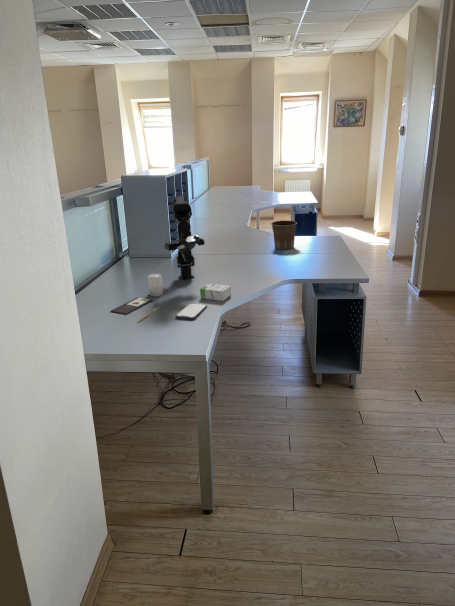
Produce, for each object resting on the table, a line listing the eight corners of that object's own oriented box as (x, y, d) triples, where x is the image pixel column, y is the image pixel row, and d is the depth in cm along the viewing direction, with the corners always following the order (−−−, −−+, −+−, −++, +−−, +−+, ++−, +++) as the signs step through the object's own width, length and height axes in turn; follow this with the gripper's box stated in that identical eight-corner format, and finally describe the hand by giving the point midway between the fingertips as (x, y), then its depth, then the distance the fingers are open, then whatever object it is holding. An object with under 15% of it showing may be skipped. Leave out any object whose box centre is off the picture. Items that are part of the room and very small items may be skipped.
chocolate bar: (110, 310, 194) (137, 297, 208) (110, 312, 194) (137, 299, 209) (126, 313, 189) (152, 299, 204) (126, 315, 190) (152, 301, 204)
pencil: (138, 324, 180) (161, 308, 196) (138, 322, 180) (160, 306, 195) (135, 324, 181) (158, 308, 196) (135, 321, 180) (158, 306, 196)
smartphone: (189, 306, 197) (174, 319, 183) (189, 303, 197) (174, 315, 182) (208, 308, 195) (194, 321, 180) (208, 304, 194) (194, 317, 180)
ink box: (200, 298, 204) (223, 301, 199) (199, 288, 202) (222, 291, 197) (209, 292, 211) (231, 295, 206) (208, 283, 209) (231, 285, 204)
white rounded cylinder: (147, 293, 214) (145, 275, 211) (160, 290, 217) (158, 273, 214) (152, 297, 209) (150, 278, 206) (165, 294, 212) (163, 276, 209)
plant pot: (290, 251, 276) (290, 226, 270) (267, 249, 284) (266, 224, 278) (300, 246, 289) (301, 221, 283) (278, 244, 297) (278, 219, 291)
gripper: (172, 234, 200) (175, 268, 206) (208, 229, 209) (210, 261, 214) (162, 231, 209) (165, 263, 215) (198, 225, 218) (200, 256, 223)
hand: (186, 261), depth 216 cm, fingers closed
